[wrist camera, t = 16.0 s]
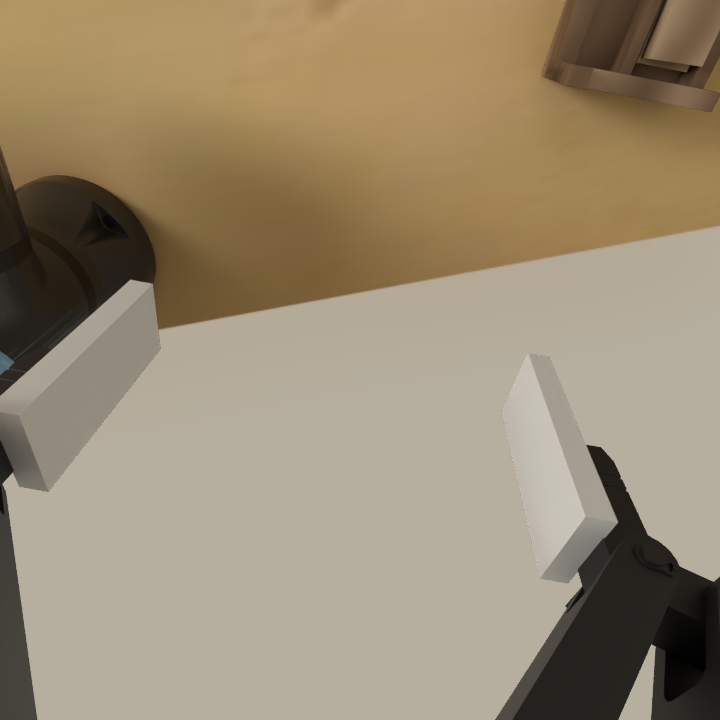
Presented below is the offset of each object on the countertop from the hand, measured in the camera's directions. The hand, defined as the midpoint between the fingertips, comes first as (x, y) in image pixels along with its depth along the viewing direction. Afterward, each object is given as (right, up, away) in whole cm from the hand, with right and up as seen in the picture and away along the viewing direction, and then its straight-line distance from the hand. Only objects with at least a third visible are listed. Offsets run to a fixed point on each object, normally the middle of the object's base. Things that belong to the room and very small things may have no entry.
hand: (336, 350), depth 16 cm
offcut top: (+24, +25, +15) cm, 38 cm away
